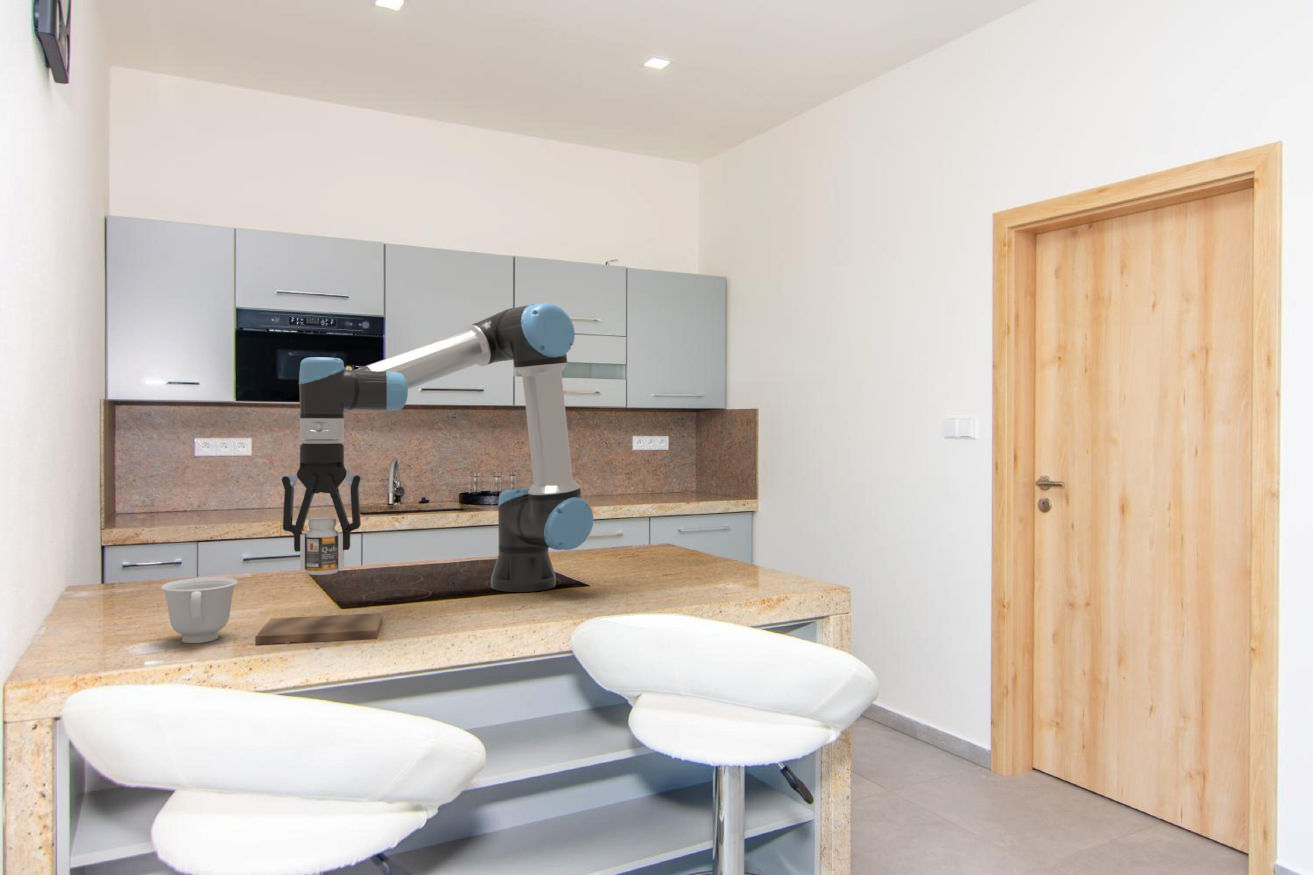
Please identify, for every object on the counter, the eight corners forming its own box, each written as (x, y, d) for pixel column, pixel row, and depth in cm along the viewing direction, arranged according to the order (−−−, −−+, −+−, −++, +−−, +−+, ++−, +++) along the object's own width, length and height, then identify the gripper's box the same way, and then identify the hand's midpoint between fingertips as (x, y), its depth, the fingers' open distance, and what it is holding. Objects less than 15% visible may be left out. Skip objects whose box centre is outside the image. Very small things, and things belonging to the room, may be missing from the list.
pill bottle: (327, 576, 154) (327, 521, 154) (299, 575, 155) (298, 520, 155) (345, 570, 160) (345, 517, 160) (317, 569, 161) (317, 516, 161)
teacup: (154, 655, 142) (154, 595, 141) (165, 634, 155) (165, 579, 155) (235, 648, 146) (235, 589, 146) (239, 628, 160) (239, 575, 160)
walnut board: (381, 620, 167) (381, 613, 167) (376, 638, 153) (376, 630, 153) (270, 626, 162) (270, 618, 162) (255, 645, 148) (255, 636, 148)
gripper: (262, 442, 151) (263, 574, 152) (374, 442, 156) (374, 569, 156) (270, 441, 158) (271, 567, 159) (377, 441, 163) (377, 563, 163)
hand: (322, 568), depth 157 cm, fingers closed on pill bottle, 6 cm apart
